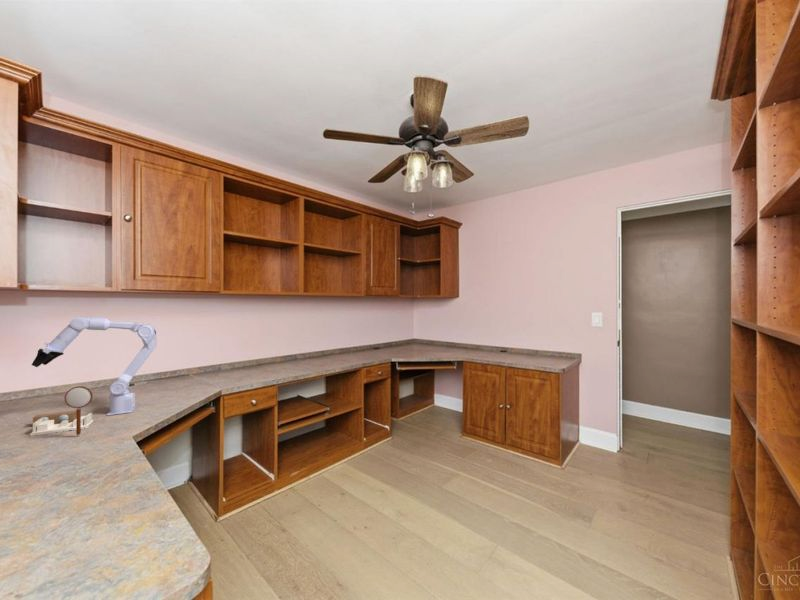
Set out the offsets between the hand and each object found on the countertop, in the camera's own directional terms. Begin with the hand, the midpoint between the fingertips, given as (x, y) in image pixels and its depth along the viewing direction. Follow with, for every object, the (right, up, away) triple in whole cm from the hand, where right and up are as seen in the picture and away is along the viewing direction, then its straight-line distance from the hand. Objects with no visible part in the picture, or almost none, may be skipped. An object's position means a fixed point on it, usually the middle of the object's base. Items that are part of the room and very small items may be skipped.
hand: (38, 364), depth 149 cm
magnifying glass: (+32, -26, -15) cm, 44 cm away
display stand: (+18, -26, -7) cm, 32 cm away
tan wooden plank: (+8, -26, 0) cm, 27 cm away
